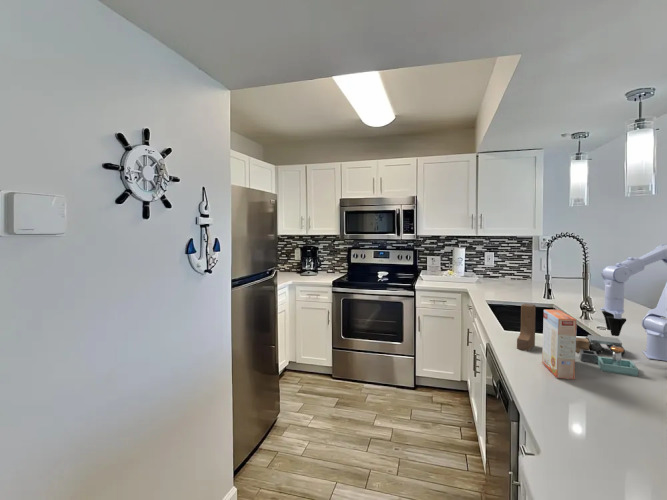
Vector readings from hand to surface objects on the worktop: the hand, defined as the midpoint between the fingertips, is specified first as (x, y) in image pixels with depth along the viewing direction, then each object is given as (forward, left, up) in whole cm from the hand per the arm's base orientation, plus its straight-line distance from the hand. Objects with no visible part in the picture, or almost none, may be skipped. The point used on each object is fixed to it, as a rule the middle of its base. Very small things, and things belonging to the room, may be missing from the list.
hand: (612, 332), depth 133 cm
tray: (0, +11, -10) cm, 15 cm away
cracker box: (+19, +21, -11) cm, 30 cm away
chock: (+9, -5, -10) cm, 15 cm away
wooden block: (+29, -1, -11) cm, 31 cm away
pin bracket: (+8, +5, -10) cm, 14 cm away
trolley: (+1, -9, -10) cm, 14 cm away
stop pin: (0, +11, -10) cm, 14 cm away
